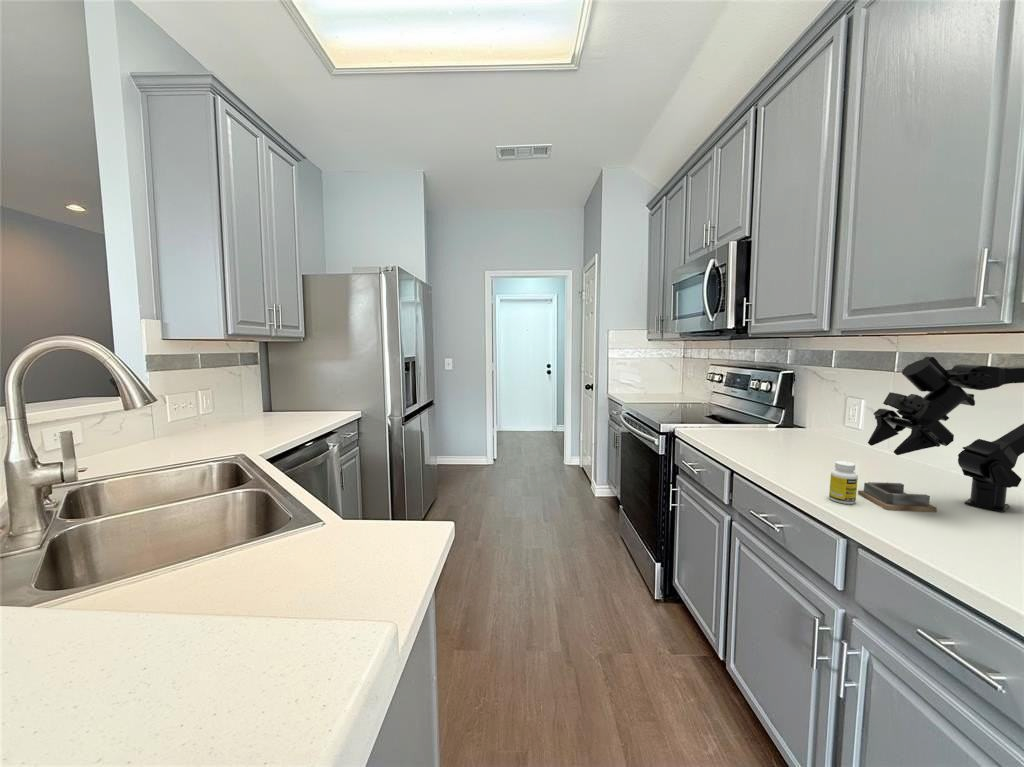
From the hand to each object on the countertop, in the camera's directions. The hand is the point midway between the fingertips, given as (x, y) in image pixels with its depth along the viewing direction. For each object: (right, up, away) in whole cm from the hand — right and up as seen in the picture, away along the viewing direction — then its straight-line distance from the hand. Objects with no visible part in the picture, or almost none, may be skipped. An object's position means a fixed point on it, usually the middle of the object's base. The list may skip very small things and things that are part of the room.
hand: (881, 448), depth 108 cm
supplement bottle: (-8, -14, +3) cm, 16 cm away
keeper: (+4, -13, +1) cm, 14 cm away
